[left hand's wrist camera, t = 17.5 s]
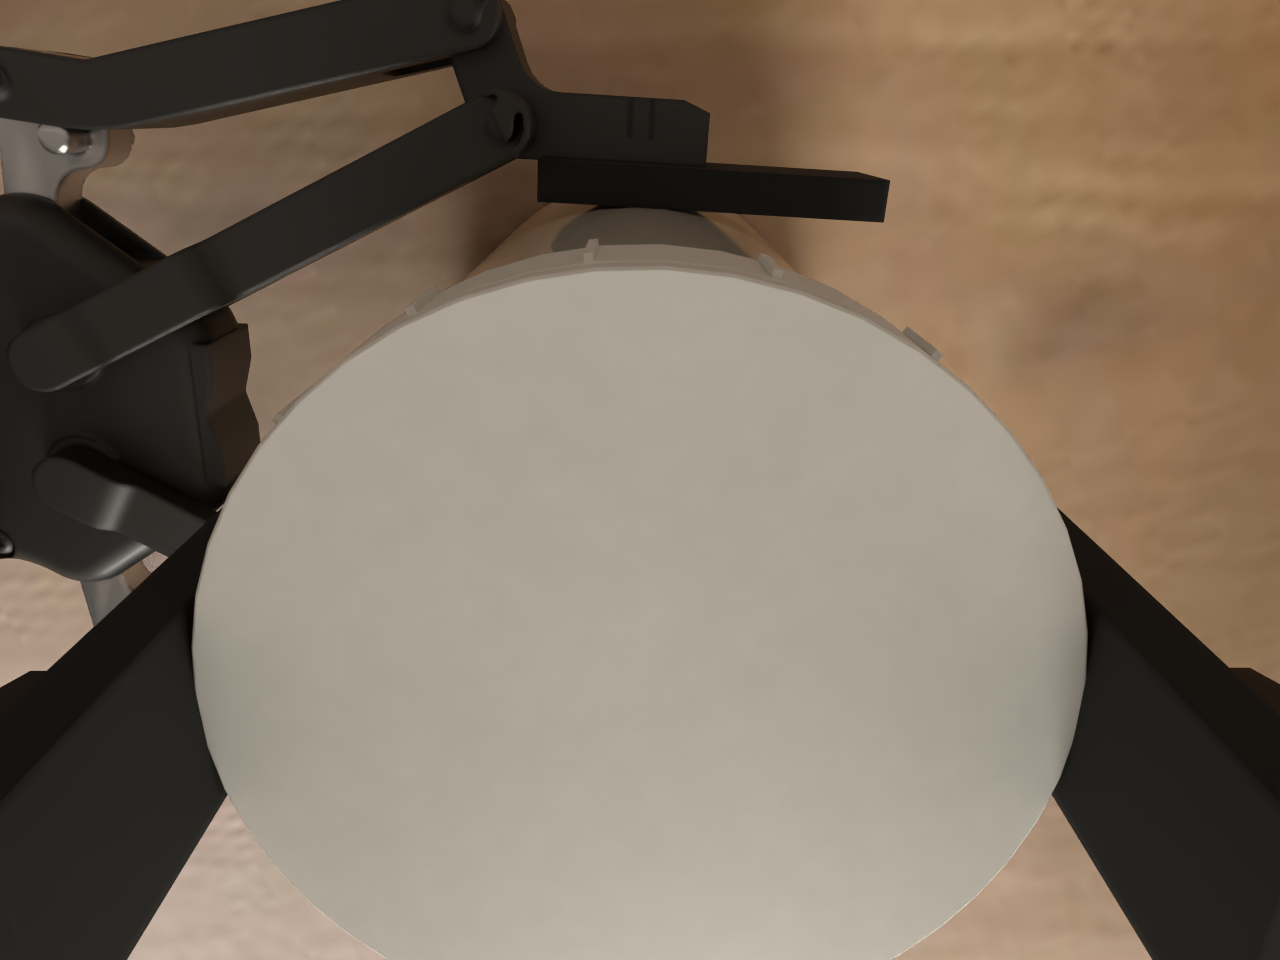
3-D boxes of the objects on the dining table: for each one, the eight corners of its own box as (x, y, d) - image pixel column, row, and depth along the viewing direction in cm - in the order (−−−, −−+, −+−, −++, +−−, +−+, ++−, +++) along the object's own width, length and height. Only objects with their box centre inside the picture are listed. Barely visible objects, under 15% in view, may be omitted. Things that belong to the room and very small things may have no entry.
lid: (1161, 326, 10) (1251, 362, 9) (906, 967, 14) (939, 1072, 13) (258, 158, 10) (187, 166, 8) (242, 879, 14) (191, 977, 12)
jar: (480, 509, 27) (314, 928, 13) (454, 181, 24) (190, 279, 10) (792, 507, 27) (958, 923, 13) (812, 179, 24) (1067, 272, 10)
